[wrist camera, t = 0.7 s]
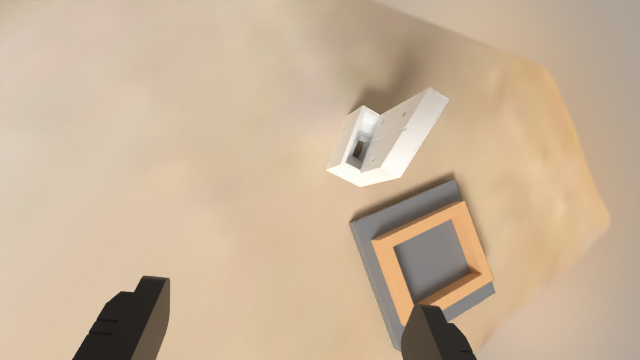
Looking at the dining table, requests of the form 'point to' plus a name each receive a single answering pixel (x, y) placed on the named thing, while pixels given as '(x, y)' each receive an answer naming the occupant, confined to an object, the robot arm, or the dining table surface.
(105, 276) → the dining table surface
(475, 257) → the plate
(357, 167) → the white angled block
